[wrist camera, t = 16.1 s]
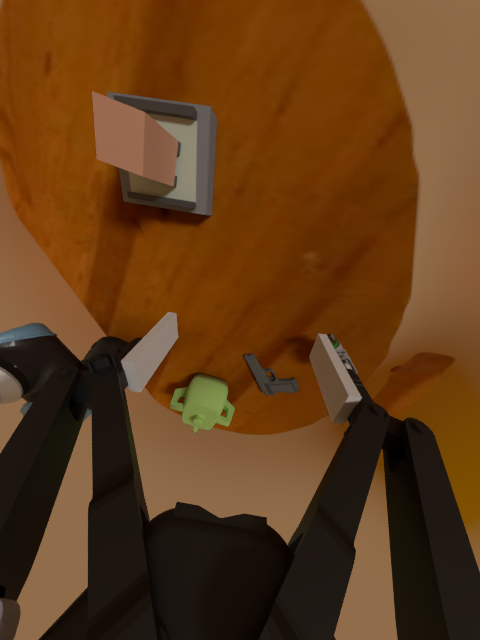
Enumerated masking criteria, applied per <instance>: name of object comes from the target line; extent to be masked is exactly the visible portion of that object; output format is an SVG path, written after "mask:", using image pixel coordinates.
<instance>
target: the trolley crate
mask: <svg viewBox="0 0 480 640" xmlns="http://www.w3.org/2000/svg"><path fill="white" fill-rule="evenodd" d="M92 96H93V110H94V125H95V139H96V153H97V160H100V161H103V162H105V163H108V164H111V165H113V166H116V167H119V168H121V169H124V170H127V171H129V172H132V173H135V174H137V175H140V176H142V177H145V178H149V179H152V180H155V181H158V182H161V183H164V184H167V185H170V186H173V187H176V184H177V176H175V169H176V160H177V155H178V156H180V149H181V143H180V142H179V141H178V140H177V139H176V138H174V137H173V136H172V135H171V134H170V133H169V132H167V131H166V130H165V129H164V128H163V127H162V126H160V125H159V124H158V123H157V122H156V121H155V120H154V119H152V118H151V117H150V116H149V115H148V114H147V113H145V112H144V111H141V110H139V109H136V108H133V107H131V106H128V105H126V104H123V103H121V102H118V101H116V100H113V99H111V98H108V97H106V96H103V95H101V94H98V93H96V92H93V91H92Z"/></svg>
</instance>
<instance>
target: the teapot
mask: <svg viewBox="0 0 480 640" xmlns="http://www.w3.org/2000/svg"><path fill="white" fill-rule="evenodd" d="M227 395H228V386H227V383H226V382H225V381H223V380H220V379H217V378H215V377H212V376H208V375H205V374H200V373H199V374H197V375H196V376H195V377H194V378H193V379H192V380H191V382H190V384H189V386H188V387H184V388H178V389H175V392H174V395H173V398H172V401H171V404H170V408H171V409H174V410H177V411H181V412H182V421H183V422H184V423H186V424H189V425H192V426H193V432H194V433H197V431H198V428H201V429H205V430H210V429H212V427H213V426H214V425H215V423H218V424H221V425H224V426H227V427H228V426H229V424H230V422H231V419H232V416H233V413H234V410H235V408H234V407H233V406H232V405H231V404H230V403H229V401H228V400H227ZM179 397H185V398H184V403H178V400H179ZM223 409H224V410H225V411H226V417H223V416H220V414H221V412H222V410H223Z"/></svg>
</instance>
